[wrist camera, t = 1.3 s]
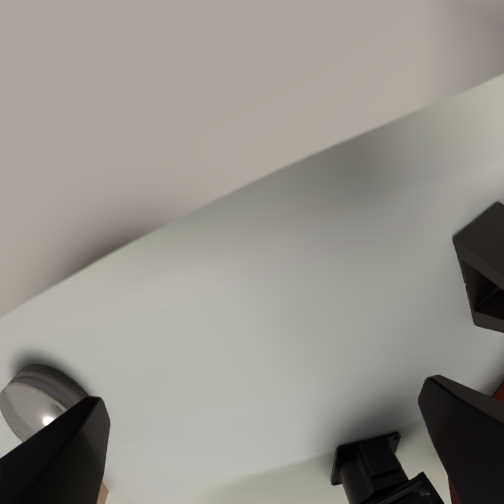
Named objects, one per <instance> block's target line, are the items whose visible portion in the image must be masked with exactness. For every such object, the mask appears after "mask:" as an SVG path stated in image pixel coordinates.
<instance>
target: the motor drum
mask: <svg viewBox="0 0 504 504" xmlns="http://www.w3.org/2000/svg"><path fill="white" fill-rule="evenodd" d="M86 396H88V394H87V393H86V392H85V391H84V390H83V389H82V388H81V387H80V386H79V385H78V384H77V383H76V382H74V381H73V380H72V379H71V378H69V377H68V376H66V375H65V374H63V373H62V372H60V371H58V370H56V369H54V368H51V367H48V366H45V365H40V364H32V365H28V366H26V367H24V368H23V369H22V370H21V371H20V372H19V373H18V374H17V375H16V376H15V377H14V378H13V379H12V380H11V382H10V383H9V384H8V385H7V386H6V387H5V388H4V389H3V390H2V391H1V393H0V409H1V412H2V414H3V417H4V419H5V421H6V422H7V424H8V426H9V427H10V428H11V430H12V431H13V432H14V433H15V435H16V436H17V437H18V438H19V439H20V440H21V441H22V442H24V441H25V440H27V439H28V438H30V437H31V436H32V435H34V434H35V433H37V432H38V431H39V430H41V429H42V428H43V427H45V426H46V425H48V424H49V423H50V422H52V421H53V420H54V419H56V418H57V417H58V416H60V415H61V414H63V413H64V412H65V411H67V410H68V409H69V408H71V407H72V406H73V405H75V404H76V403H78V402H79V401H80V400H82V399H83V398H84V397H86Z"/></svg>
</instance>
